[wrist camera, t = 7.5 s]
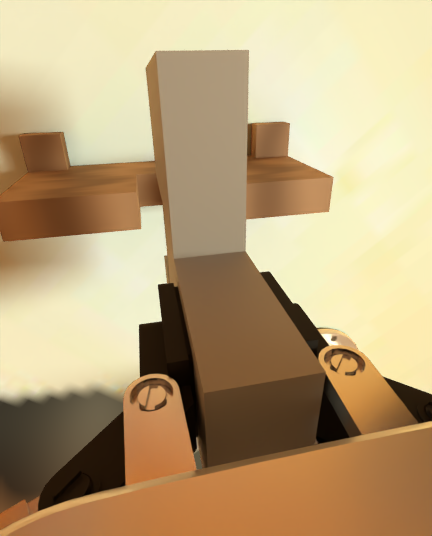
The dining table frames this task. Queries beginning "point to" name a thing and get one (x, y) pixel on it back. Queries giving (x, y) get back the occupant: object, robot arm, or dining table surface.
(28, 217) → the walnut slotted stand
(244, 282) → the grey slotted plate
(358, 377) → the robot arm
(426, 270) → the dining table surface
